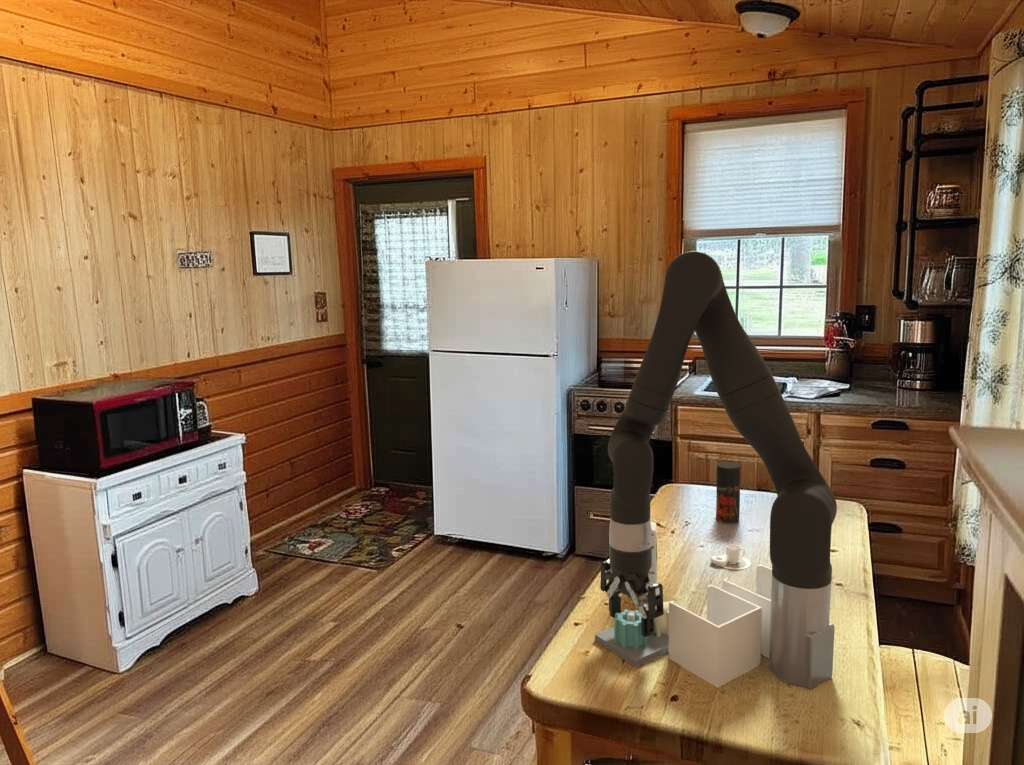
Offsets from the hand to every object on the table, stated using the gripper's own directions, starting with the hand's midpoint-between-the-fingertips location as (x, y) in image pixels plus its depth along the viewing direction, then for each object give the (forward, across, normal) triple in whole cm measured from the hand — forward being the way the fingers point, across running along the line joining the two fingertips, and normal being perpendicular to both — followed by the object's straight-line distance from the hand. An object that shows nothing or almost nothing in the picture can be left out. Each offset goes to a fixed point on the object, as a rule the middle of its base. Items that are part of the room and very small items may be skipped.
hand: (630, 625), depth 132 cm
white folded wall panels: (+5, -12, -15) cm, 20 cm away
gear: (+3, 0, 0) cm, 3 cm away
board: (+4, 0, -3) cm, 5 cm away
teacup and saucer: (+5, +16, -43) cm, 46 cm away
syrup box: (+4, +16, -18) cm, 24 cm away
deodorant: (+4, +32, -63) cm, 70 cm away
